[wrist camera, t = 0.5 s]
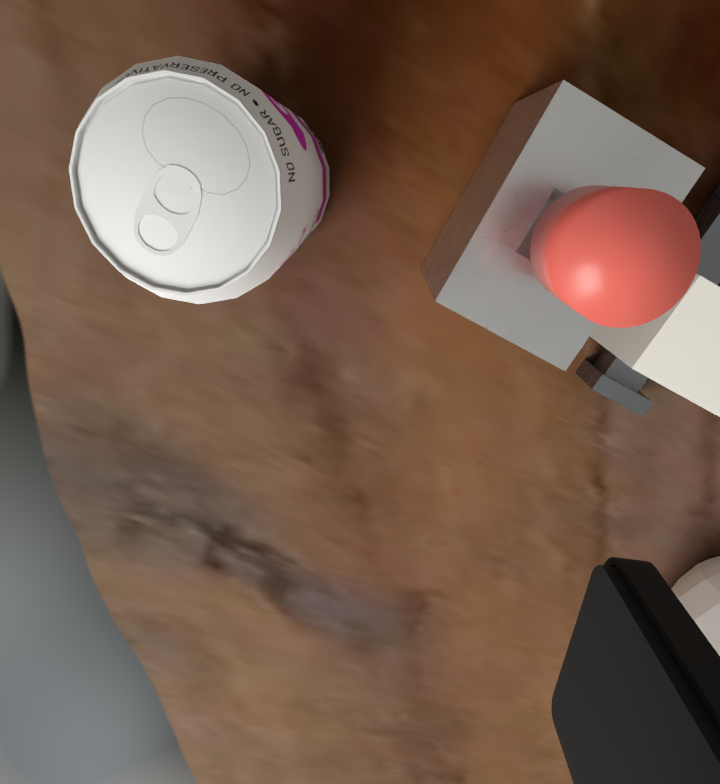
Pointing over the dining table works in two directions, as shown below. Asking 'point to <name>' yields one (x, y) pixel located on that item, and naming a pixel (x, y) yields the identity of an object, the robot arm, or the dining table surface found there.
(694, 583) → the pitcher
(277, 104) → the supplement can
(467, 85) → the dining table surface
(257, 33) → the dining table surface
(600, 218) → the button
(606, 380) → the rail
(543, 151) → the grey box
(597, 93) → the dining table surface
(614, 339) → the carriage
